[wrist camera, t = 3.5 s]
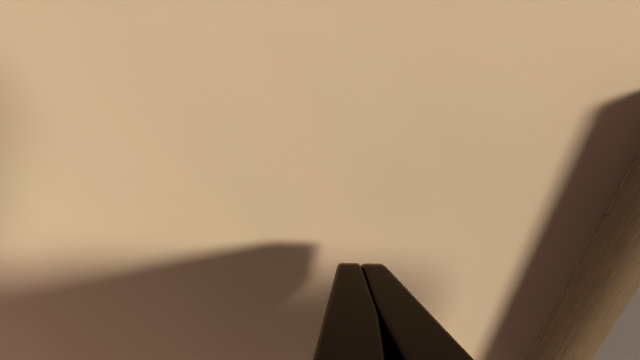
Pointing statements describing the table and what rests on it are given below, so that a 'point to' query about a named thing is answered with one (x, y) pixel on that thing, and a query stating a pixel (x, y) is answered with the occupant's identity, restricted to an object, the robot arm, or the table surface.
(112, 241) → the table surface
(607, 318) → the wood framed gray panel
